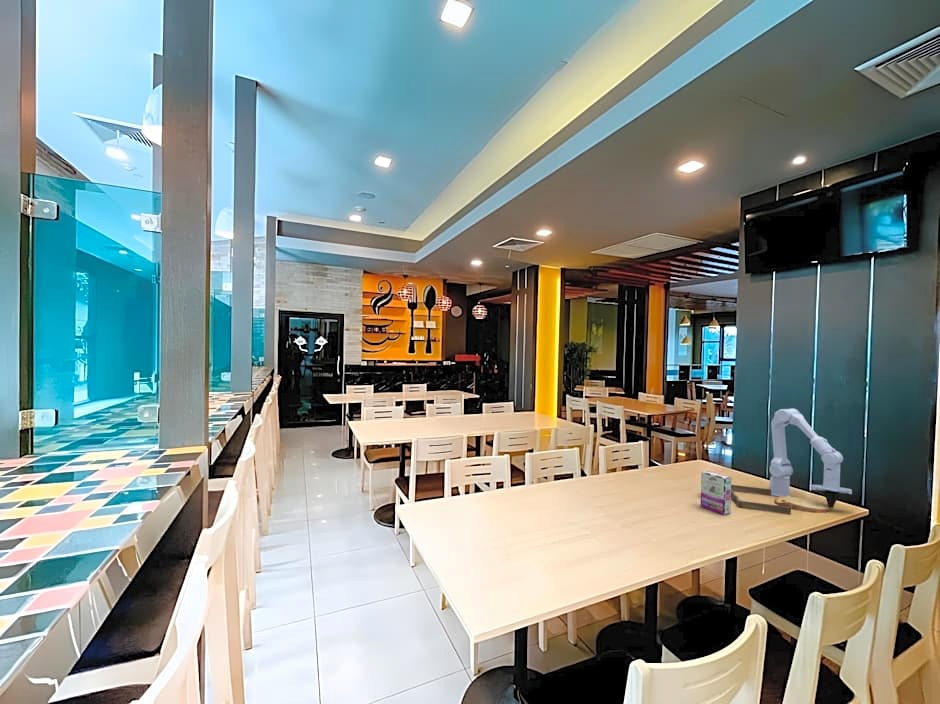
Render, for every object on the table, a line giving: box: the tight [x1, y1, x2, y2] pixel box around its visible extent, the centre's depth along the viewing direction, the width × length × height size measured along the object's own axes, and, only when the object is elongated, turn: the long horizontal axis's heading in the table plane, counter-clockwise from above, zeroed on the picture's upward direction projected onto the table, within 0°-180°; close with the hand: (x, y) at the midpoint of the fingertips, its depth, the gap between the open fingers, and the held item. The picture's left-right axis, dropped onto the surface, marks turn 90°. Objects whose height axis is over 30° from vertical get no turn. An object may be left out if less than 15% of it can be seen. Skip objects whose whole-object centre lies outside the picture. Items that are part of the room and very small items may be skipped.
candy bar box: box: [700, 470, 732, 516], centre depth 186 cm, size 11×5×16 cm, turn 27°
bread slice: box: [774, 495, 832, 514], centre depth 194 cm, size 18×18×4 cm
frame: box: [731, 484, 792, 515], centre depth 199 cm, size 26×20×3 cm
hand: (830, 507), depth 190 cm, fingers closed
